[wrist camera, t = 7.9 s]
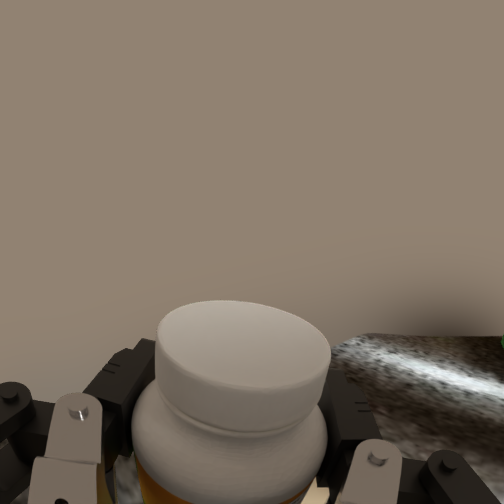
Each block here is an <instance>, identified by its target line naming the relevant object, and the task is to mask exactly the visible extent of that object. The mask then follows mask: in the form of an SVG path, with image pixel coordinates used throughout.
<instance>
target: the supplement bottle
mask: <svg viewBox="0 0 504 504" xmlns="http://www.w3.org/2000/svg"><path fill="white" fill-rule="evenodd" d="M330 360H331V351H330V346H329V343H328V342H327V340H326V338H325V337H324V335H323V334H322V333H321V332H320V331H319V330H318V329H317V328H315V327H314V326H313V325H311V324H310V323H308V322H307V321H305V320H303V319H302V318H300V317H298V316H296V315H293V314H291V313H288V312H285V311H283V310H280V309H277V308H274V307H270V306H266V305H261V304H256V303H251V302H241V301H225V300H214V301H203V302H197V303H192V304H188V305H185V306H182V307H179V308H177V309H175V310H173V311H171V312H170V313H168V314H167V315H166V316H165V317H164V318H163V319H162V320H161V322H160V323H159V325H158V328H157V332H156V343H155V376H156V377H155V379H154V380H153V381H152V382H151V383H150V384H149V385H148V386H147V387H146V388H145V389H144V390H143V391H142V393H141V394H140V396H139V398H138V400H137V401H136V404H135V406H134V410H133V413H132V420H131V431H132V444H133V451H134V456H135V462H136V468H137V473H138V478H139V482H140V487H141V492H142V497H143V502H144V504H301V503H302V501H303V499H304V497H305V495H306V494H307V492H308V490H309V488H310V486H311V484H312V483H313V481H314V479H315V477H316V475H317V473H318V471H319V469H320V467H321V464H322V461H323V459H324V456H325V453H326V449H327V442H328V432H327V426H326V422H325V419H324V416H323V414H322V412H321V410H320V408H319V406H318V405H317V403H318V402H319V400H320V397H321V395H322V391H323V386H324V382H325V379H326V375H327V372H328V368H329V364H330Z"/></svg>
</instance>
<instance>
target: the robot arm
mask: <svg viewBox="0 0 504 504" xmlns="http://www.w3.org/2000/svg"><path fill="white" fill-rule="evenodd" d="M155 343H156V341H153V340H148V339H144V338H142V339H141V340H140V341H139V342H138V344H137V345H136V347H135V348H134V349H133V350H131V349H128V348H125V349H123V350H121V351H119V352H117V353H115V354H114V355H113V357H112V358H111V359H110V360H109V361H108V364H106V365H105V366H104V367H103V368H102V370H101V371H100V372H99V373H98V374H97V376H96V377H95V378H94V379H93V380H92V382H91V383H90V384H89V385H88V387H87V388H86V389H85V390H84V391H83V392H82V393H71V394H67V395H65V396H62V397H61V398H60V399H59V400H58V401H57V402H56V403H49V402H43V401H37V400H33V399H32V396H31V393H30V390H29V389H28V388H27V387H26V386H25V385H23V384H21V383H17V382H5V383H2V384H0V443H1V442H2V441H3V440H5V439H6V438H7V439H8V442H9V444H7V445H6V446H5V447H3V448H2V449H1V450H0V504H9V503H10V502H12V501H13V500H14V499H15V498H16V497H17V496H18V495H19V494H20V493H22V492H23V491H24V490H25V489H26V488H27V487H28V486H29V485H30V489H29V497H28V504H118V499H117V487H116V472H115V464H114V463H115V461H116V459H117V457H118V455H122V456H125V457H129V458H130V456H131V454H132V452H133V444H132V431H131V420H132V413H133V410H134V406H135V404H136V401H137V400H138V398H139V396H140V394H141V393H142V391H143V390H144V389H145V388H146V387H147V386H148V385H149V384H150V383H151V382H152V381H153V380H154V379H155V377H156V376H155ZM317 405H318V406H319V408H320V410H321V412H322V414H323V416H324V419H325V422H326V426H327V432H328V442H327V449H326V453H325V456H324V459H323V461H322V464H321V467H320V469H319V471H318V473H317V475H316V483H317V488H329V496H328V498H327V499H326V501H325V503H324V504H501V503H500V502H499V500H498V499H497V498H496V497H495V495H494V494H493V493H492V492H491V491H490V489H489V488H488V487H487V486H486V485H485V483H484V482H483V481H482V480H481V479H480V477H479V476H478V475H477V474H476V473H475V471H474V470H473V469H472V468H471V467H470V465H469V464H468V463H467V462H466V461H465V460H464V458H463V457H462V456H460V455H459V454H457V453H455V452H453V451H450V450H439V451H436V452H434V453H433V454H431V456H430V457H429V458H428V460H427V461H420V460H413V459H407V458H403V457H402V455H401V453H400V451H399V450H398V448H397V447H395V446H394V445H393V444H391V443H389V442H387V441H384V440H383V439H382V437H381V434H380V432H379V429H378V426H377V424H376V421H375V419H374V416H373V414H372V412H371V409H370V406H369V404H368V401H367V399H366V396H365V394H364V392H363V391H362V390H361V389H360V388H359V387H358V386H357V385H356V384H354V383H348V382H347V379H346V376H345V374H344V371H343V369H335V368H328V372H327V375H326V379H325V382H324V386H323V391H322V395H321V397H320V400H319V402H318V403H317Z"/></svg>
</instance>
